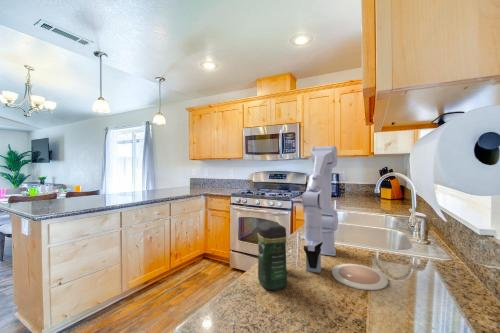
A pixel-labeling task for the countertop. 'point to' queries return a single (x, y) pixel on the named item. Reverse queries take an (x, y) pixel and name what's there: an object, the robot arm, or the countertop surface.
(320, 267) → the block
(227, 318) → the countertop surface
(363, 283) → the plate
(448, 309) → the countertop surface
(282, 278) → the coffee jar
